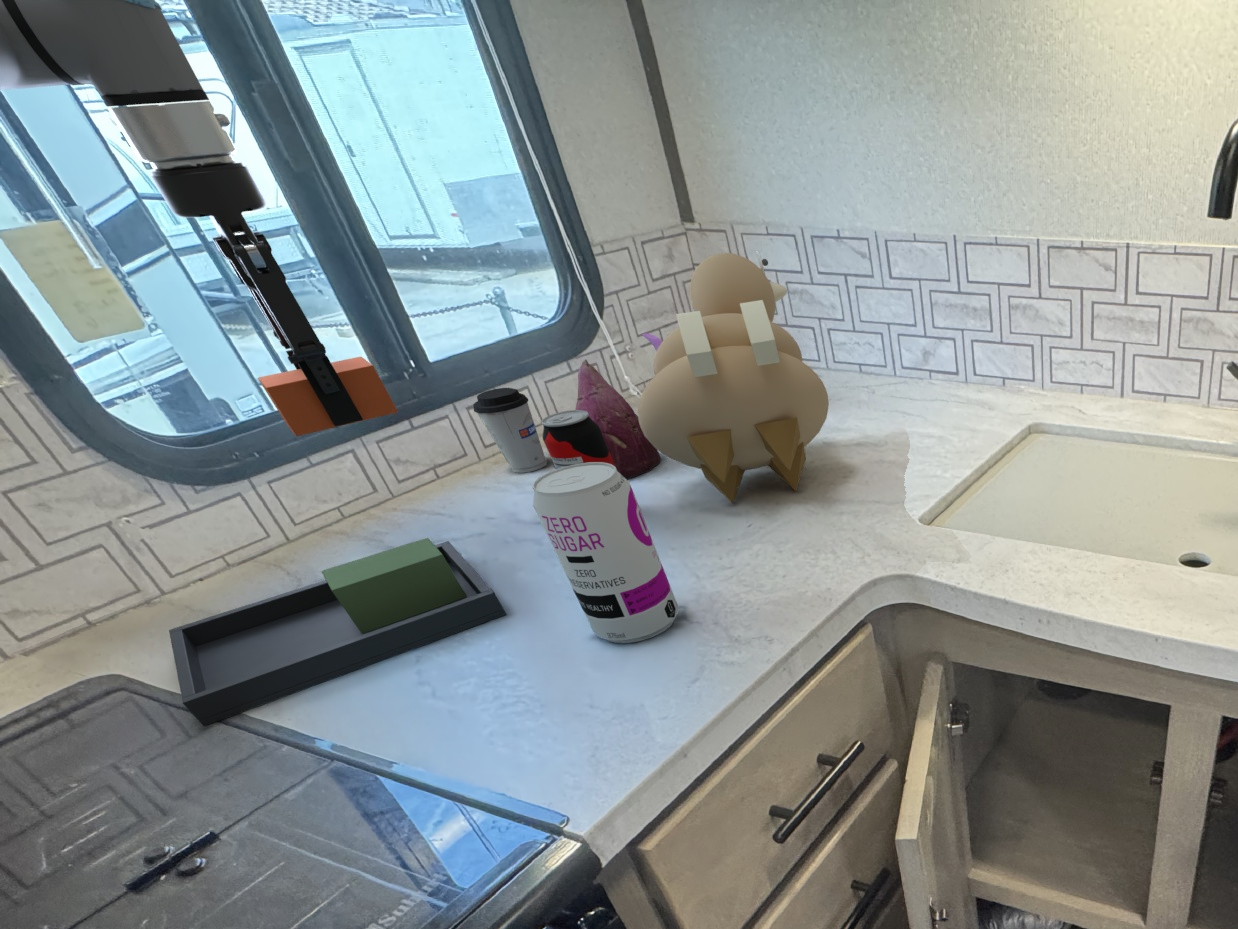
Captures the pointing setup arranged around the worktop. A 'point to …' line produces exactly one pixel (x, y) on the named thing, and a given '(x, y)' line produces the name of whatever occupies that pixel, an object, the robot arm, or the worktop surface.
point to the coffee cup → (511, 428)
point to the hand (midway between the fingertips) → (342, 415)
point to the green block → (394, 585)
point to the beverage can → (574, 439)
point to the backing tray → (305, 643)
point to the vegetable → (615, 423)
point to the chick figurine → (733, 381)
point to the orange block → (305, 406)
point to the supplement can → (605, 551)
